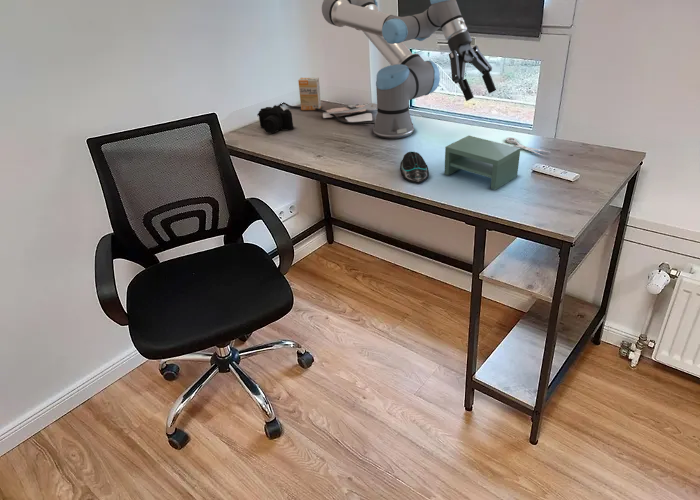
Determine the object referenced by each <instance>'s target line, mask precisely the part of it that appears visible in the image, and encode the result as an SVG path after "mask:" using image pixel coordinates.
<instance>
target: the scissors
mask: <svg viewBox="0 0 700 500" xmlns="http://www.w3.org/2000/svg"><path fill="white" fill-rule="evenodd" d="M505 141H506V142H507V143H510V144H514V145H513V146H514V147H518V148H521V149H520V150H522V149H523V150H526V151H529V152H531V153H534V154H537V155H540V156H543V157H545V155H544V154H542V153H539V152H546V153H550V151H548V150H544V149H539V148H534V147H529V146H526V145H523V144H521V143H519V142H518V141H517V139H516V138H515V137H506V139H505ZM502 144H504V143H502Z"/></svg>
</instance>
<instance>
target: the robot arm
mask: <svg viewBox="0 0 700 500" xmlns="http://www.w3.org/2000/svg"><path fill="white" fill-rule="evenodd" d="M429 2H430V5H429V7H428V8H426V9H425V10H424V11H423V12H421V13H416V14H411V15H405V16H399V15H394V14H392V13H387V12H383V11H380V10H379V7H378V5H379V4H378V1H377V0H323V1H322V4H321V14H322V16H323V19H324V20H325V22H327V23H328V24H329V25H332V26H335V27H338V28H343V27H348V28H351V29H355V30H357V31H362V32H363V34H364V35H365V36H366V37H367V38H368V40H369V41H370V42H371V43H372V44H373V46H374V47H375V48H376V49H377V50H378V51H379V53H380V54H381V55H382V56H383V57H384V59H385V60H386V61H387V63H389V64H390V65H387V66H383V67H382V68H380V69H379V70H378V71H377V73H376V77H375V78H376V82H375V86H376V104H377V109H376V111H377V112H376V116H375V120H374V122H373V121H359V122H348V120H344V119H343V120H342V119H341V118H340V117H339V116H335V115H334V114H330V115H332V116H333V117H332V118H334V119H336V120H338V122H340V123H343V124H347V125H373V128H372V133H373V135H374V136H375V137H377V138H381V139H386V140H397V139H398V140H399V139H404V138H408V137H410V136H412V135H413V134H414V133H415V127H414V126H415V125H414V123H413V121H412V118H411V114H410V101H411V100H414V99H417V98H421V97H424V96H428V95H429V94H432V93H434V92H435V91H436V90H437V89H438V87H439V85H440V81H441V80H440V79H441V77H440V75H441V74H440V73H441V72H440V68H439V67H438V65H437V63H435V61H432V60H425V59H423V58H422V57H421V55H420V54H419V53H412V52H411V50H410V49H409V47H407V46H406V44H405V42H407V41H411V40H416V41H419V42H423V41H425V40H427V39H428V38H430V37H431V36H432V35H433V34H435V32H436V31H438V30H440V28H441V31H442V34H443V36H444V38H445V41H447V42H446V43H447V46H448V48H449V51H450V52H449V53H448V58H449V62H450V71H451V73H450V74H451V81H452V82H453V83H454V84H456V85H457V84H458V85H459V88H460V90H461V92H462V94H463V96H464V99H465V101H466V102H469V101H471V100H472V99H473V98H475V97H474V94H473V92H472V89H471V87H470V85H469V82H468V79H467V78H465V72H466V64H471V65H472V66H473V67H474V68H476V70H478V71H479V73H481V74H482V75H481V78H482V80H483V83H484V86H485V88H486V90H487V92H488V94H492V93H494V92H495V91H497V87H496V86H495V83H494V80H493V78H492V75H491V73H490V72H492V70H493V66H492V65H491V64H490V62H489V61H488V60H487V58H486V57H485V56H484V54H483V53H482V52H481V51H480V48H479V46H478V45H474V46H472V45H471V43H472V42H473V39H472V37H471V34H470V32H469V31H468V27H467V25H466V22H465V19H464V17H463V15H462V13H461V10H460V7H459V5H458V2H457V0H429ZM282 102H283V103H282ZM282 102H280V104H279V105H280V107H281V106H283V105H284V106H286V107H287V108H291V109H301V105H299V106H298V105H290V104H288V103H286V102H284V101H282ZM281 103H282V104H281ZM314 111H320V112H322V113H326V112H327V110H326V109H323V108H320V109H319V108H315V110H314Z"/></svg>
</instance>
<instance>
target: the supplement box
mask: <svg viewBox="0 0 700 500" xmlns="http://www.w3.org/2000/svg"><path fill="white" fill-rule="evenodd" d="M297 82H298V90H299V101H300V106H301V108H300V109H301V111H316V110H315V108H319V109H322V101H321V88H320V77H300V78H299V79H298V80H297Z"/></svg>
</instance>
